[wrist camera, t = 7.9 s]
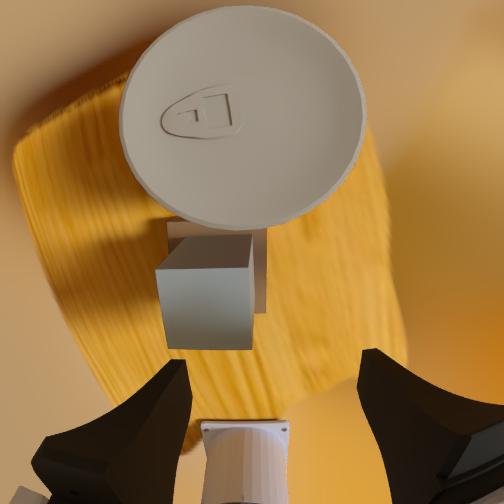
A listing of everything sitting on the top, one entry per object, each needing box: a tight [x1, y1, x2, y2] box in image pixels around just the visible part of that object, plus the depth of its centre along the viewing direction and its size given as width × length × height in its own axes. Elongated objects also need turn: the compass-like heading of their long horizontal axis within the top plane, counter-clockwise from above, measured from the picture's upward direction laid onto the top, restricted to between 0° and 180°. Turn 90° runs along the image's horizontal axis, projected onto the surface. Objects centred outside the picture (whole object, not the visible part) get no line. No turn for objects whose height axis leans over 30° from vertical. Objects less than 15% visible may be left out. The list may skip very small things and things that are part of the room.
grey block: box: [155, 235, 255, 350], centre depth 17 cm, size 4×4×6 cm
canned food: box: [119, 5, 367, 231], centre depth 14 cm, size 8×8×11 cm
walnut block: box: [167, 216, 267, 313], centre depth 21 cm, size 6×6×2 cm
